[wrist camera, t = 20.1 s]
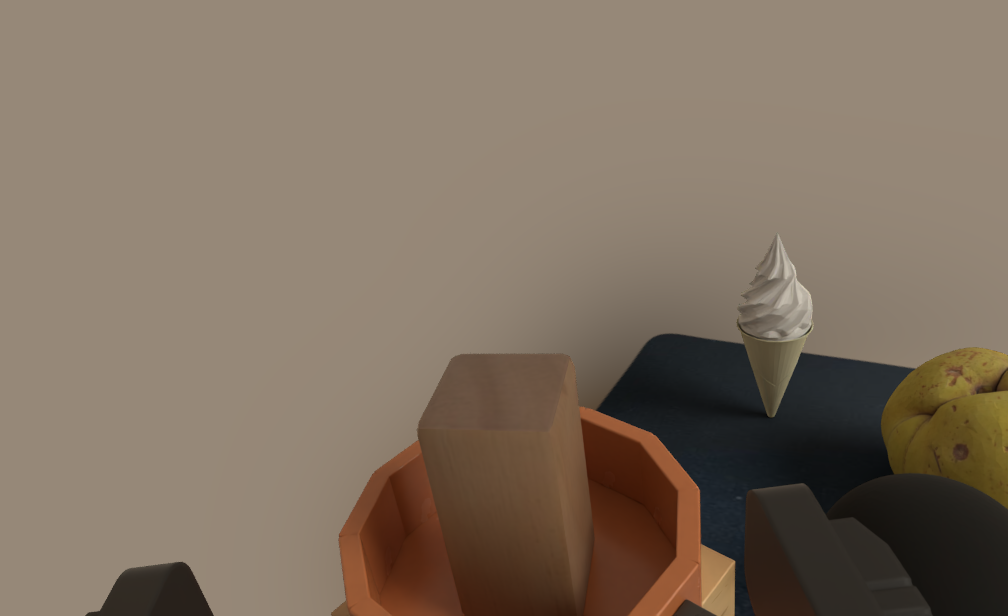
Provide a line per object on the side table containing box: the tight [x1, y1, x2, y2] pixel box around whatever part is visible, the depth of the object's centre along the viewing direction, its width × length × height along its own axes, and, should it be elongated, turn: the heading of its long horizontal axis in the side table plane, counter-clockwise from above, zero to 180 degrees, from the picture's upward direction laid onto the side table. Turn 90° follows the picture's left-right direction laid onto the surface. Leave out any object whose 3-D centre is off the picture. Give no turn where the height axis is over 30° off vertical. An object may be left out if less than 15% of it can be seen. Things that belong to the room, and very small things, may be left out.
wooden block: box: [417, 354, 595, 616], centre depth 23 cm, size 4×4×8 cm
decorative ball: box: [826, 473, 1008, 616], centre depth 34 cm, size 10×10×10 cm
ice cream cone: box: [736, 233, 813, 417], centre depth 50 cm, size 5×5×15 cm
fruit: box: [881, 347, 1008, 509], centre depth 41 cm, size 11×12×10 cm
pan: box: [339, 407, 717, 616], centre depth 22 cm, size 18×11×4 cm, turn 47°
